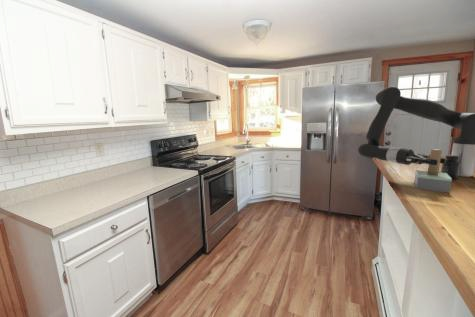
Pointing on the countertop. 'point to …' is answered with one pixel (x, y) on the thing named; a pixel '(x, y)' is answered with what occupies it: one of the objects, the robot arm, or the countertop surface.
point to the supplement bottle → (451, 166)
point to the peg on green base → (434, 168)
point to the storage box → (432, 184)
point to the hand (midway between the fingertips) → (441, 161)
